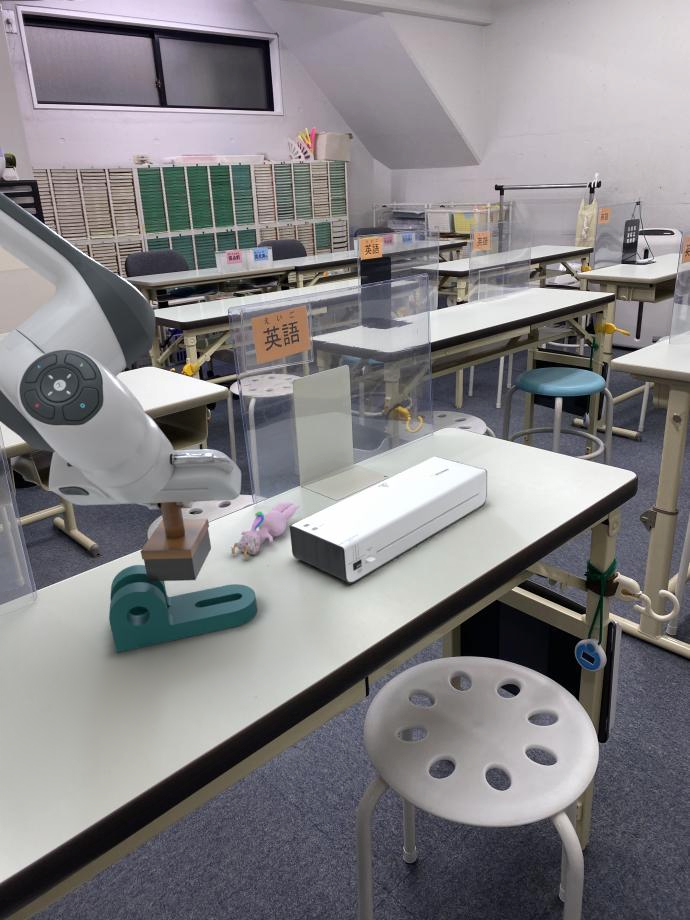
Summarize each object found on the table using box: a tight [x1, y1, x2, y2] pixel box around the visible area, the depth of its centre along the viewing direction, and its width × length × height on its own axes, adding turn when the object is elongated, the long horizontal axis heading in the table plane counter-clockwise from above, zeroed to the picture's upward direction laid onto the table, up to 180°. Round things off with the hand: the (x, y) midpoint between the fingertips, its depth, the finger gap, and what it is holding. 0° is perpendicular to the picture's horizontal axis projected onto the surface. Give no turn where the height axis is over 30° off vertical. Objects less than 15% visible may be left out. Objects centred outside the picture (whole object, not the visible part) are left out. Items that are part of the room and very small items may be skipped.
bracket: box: [108, 564, 258, 653], centre depth 88 cm, size 18×7×8 cm, turn 106°
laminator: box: [289, 455, 488, 585], centre depth 107 cm, size 34×12×6 cm, turn 135°
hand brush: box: [140, 502, 212, 582], centre depth 85 cm, size 8×6×14 cm
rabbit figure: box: [230, 502, 301, 562], centre depth 108 cm, size 6×6×15 cm
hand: (171, 503), depth 85 cm, fingers closed on hand brush, 2 cm apart
